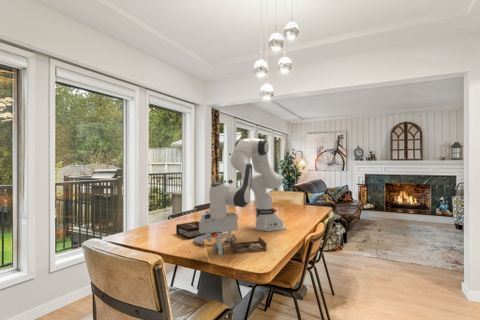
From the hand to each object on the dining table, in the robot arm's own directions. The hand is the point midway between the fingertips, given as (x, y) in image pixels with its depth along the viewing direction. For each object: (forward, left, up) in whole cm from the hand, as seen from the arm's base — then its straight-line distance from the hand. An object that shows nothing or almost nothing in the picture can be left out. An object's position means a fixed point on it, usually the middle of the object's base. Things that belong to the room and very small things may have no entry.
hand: (218, 240), depth 142 cm
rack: (-15, 0, -7) cm, 17 cm away
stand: (0, 0, -7) cm, 7 cm away
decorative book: (+7, -43, -7) cm, 44 cm away
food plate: (-1, -22, -7) cm, 23 cm away
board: (0, +1, -6) cm, 6 cm away
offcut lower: (-19, +3, -5) cm, 20 cm away
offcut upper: (-19, +2, -4) cm, 20 cm away
